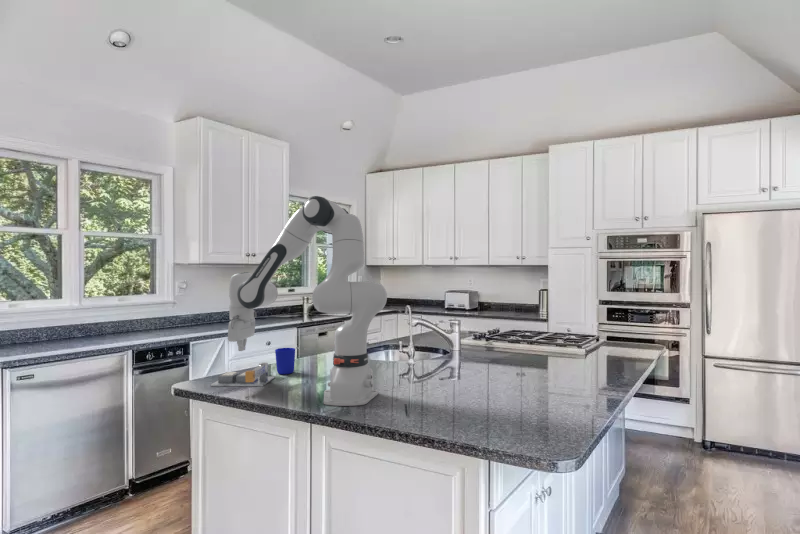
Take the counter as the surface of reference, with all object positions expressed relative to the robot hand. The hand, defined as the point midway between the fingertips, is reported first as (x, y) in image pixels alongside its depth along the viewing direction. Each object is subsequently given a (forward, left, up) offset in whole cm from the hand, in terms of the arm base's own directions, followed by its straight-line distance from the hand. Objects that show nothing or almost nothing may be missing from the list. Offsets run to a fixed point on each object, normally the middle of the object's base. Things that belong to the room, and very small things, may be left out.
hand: (241, 350), depth 198 cm
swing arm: (-7, -8, -8) cm, 13 cm away
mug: (+19, -12, -13) cm, 26 cm away
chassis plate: (+1, 0, -12) cm, 12 cm away
